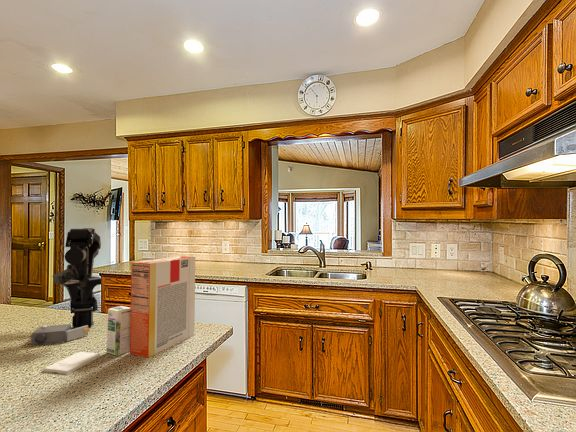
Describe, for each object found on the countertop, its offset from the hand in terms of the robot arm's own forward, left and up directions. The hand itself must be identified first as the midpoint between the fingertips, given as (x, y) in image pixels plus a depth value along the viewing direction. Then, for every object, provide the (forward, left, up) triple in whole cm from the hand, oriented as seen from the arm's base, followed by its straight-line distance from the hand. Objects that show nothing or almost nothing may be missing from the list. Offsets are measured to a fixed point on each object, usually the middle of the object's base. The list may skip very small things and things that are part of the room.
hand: (78, 302), depth 124 cm
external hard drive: (-5, +27, -13) cm, 31 cm away
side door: (0, +4, -12) cm, 13 cm away
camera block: (+8, +2, -12) cm, 15 cm away
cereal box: (-31, +18, -13) cm, 38 cm away
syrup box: (-17, +22, -13) cm, 30 cm away
